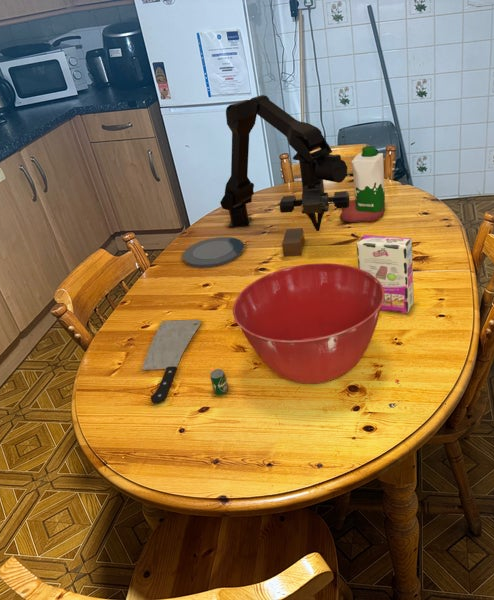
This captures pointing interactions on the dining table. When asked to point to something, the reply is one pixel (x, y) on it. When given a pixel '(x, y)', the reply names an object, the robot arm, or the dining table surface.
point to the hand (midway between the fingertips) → (318, 230)
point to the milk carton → (369, 180)
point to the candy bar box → (389, 268)
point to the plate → (213, 252)
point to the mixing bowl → (310, 319)
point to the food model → (359, 214)
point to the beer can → (219, 382)
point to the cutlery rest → (293, 242)
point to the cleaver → (169, 351)
